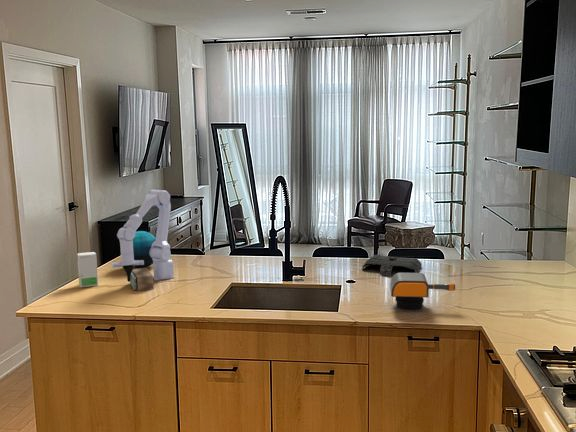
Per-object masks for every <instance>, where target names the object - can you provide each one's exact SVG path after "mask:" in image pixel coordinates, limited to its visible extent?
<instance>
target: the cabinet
mask: <svg viewBox="0 0 576 432" xmlns="http://www.w3.org/2000/svg"><path fill="white" fill-rule="evenodd" d="M132 272H133V274H134V276H135V277H136V286H137V290H136V291H138V292H140V291H147V290H154V278H153V276H154V274H152V273H151V272H150V271H149V269H148V267H146V268H133V270H132Z"/></svg>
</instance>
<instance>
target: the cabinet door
mask: <svg viewBox="0 0 576 432" xmlns="http://www.w3.org/2000/svg"><path fill="white" fill-rule="evenodd" d="M129 284H130V286H131V287H132V288H133V289H132V290H134V291H138V290H137V286H136V277H135V276H134V274H133V272H131V276H130V282H129Z"/></svg>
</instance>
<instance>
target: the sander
mask: <svg viewBox="0 0 576 432" xmlns="http://www.w3.org/2000/svg"><path fill="white" fill-rule="evenodd" d="M389 286H390V297H393V298H395V301H396V303H395V304H394V309H396V310H399V311H402V312H404V313H405V312H406V313H407V312H408V313H417V312H423V310H425V309H426V308H425V305H424V298H428V299H429V297H430V295H429V290H433V289H434V290H445V291H448V292H454V291H455V290H456V284H455V283H454V282H453V283H452V282H451V283H450V282H448V283H442V284H441V283H434V284H433V283H428V280H427V277H426V275H425V274H424V273H423V272H418V273H415V272H397V273H395V274H393V276H392V277H391V279H390V284H389Z"/></svg>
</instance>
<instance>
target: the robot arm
mask: <svg viewBox="0 0 576 432" xmlns="http://www.w3.org/2000/svg"><path fill="white" fill-rule="evenodd" d="M154 206H156V207H157V209H158V217H157V224H156V234H155V237H156V240H155V242H153V243H152V247H151V249H150V252H149V254H150V257H151V258H152V260H153V264H152V265H153V268H152V269H153V281H158V280H166V279H174V278H175V276H174V262H173V260H172V259H170V258H171V255H172V254H171V245H170V244H169V243H168V235H169V226H170V218H171V209H172V204H171V194H170V193H169V192H168V191H167V190H166V189H165V190H164V189H161V190H160V189H154V188H153V189H150V190H148V193H146V195H145V199H144V200H143V202H142V204H141V205H140V207H139V208H138V210H137V211H136V213H135V214H132V215H129V217H128V218H129V219H128V220H127V221H126V223H124V224H123V227H121V228H119V229H118V231H117V233H116V237H117V239H118V240H119V246H120V260H121V261H119V262H118V261H117V262H113V263H111V269H116V268H122V269H123V270H124V272H125V274H126V279H127V282H129V283H130V276H131V272H132V270H133V269H134V267H133V266H134V265H144V261H143V260H134V253H133V238H134V237H135V232H137V230H138V228H139V227H140V226H141V224H142V223H143V218H144V217H145V215H146V214H147V213H148V212H149V210H150V209H151V208H152V207H154Z"/></svg>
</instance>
